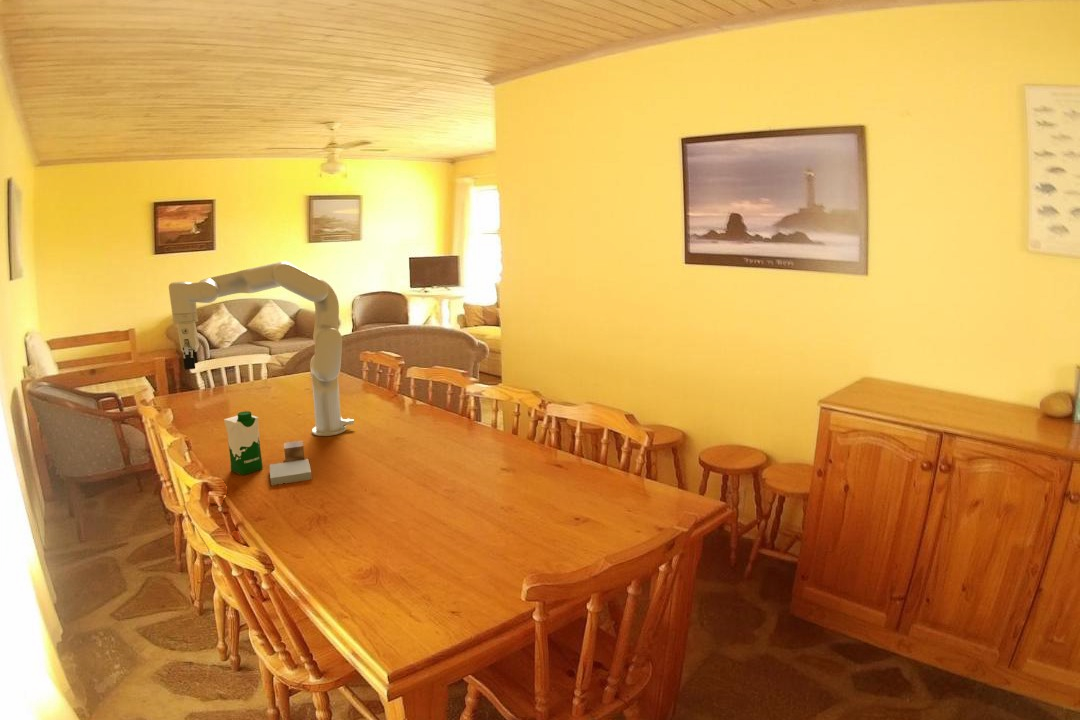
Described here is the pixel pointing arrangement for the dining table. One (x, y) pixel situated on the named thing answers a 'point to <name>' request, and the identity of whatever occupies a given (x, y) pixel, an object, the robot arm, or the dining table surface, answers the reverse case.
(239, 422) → the soya milk
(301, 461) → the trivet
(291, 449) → the walnut block
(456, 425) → the dining table surface
